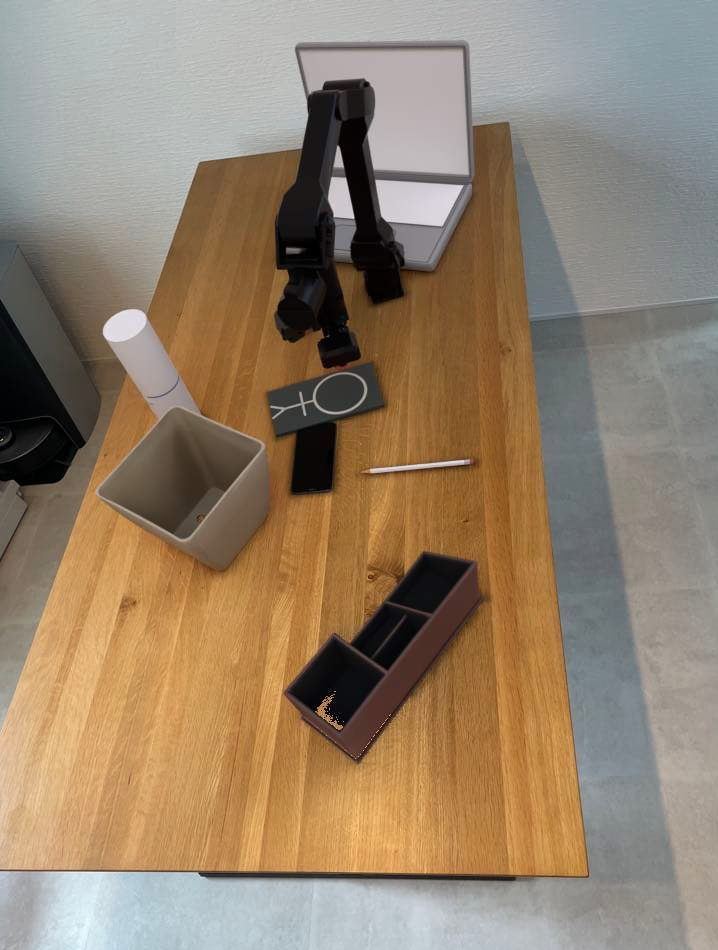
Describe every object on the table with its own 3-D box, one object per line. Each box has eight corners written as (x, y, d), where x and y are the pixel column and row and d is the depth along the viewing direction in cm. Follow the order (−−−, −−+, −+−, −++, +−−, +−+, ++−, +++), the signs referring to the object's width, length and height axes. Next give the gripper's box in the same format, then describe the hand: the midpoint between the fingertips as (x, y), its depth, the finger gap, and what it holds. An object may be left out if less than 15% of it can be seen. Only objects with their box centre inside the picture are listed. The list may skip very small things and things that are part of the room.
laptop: (277, 257, 148) (232, 120, 124) (328, 179, 160) (296, 40, 135) (432, 275, 135) (416, 126, 111) (476, 189, 147) (470, 38, 123)
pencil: (474, 464, 110) (473, 462, 109) (360, 475, 113) (359, 473, 112) (473, 460, 110) (473, 458, 110) (360, 471, 113) (359, 469, 113)
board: (371, 364, 126) (370, 361, 125) (384, 407, 120) (383, 403, 119) (268, 394, 127) (266, 391, 126) (276, 438, 121) (274, 434, 120)
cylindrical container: (199, 445, 123) (136, 341, 102) (164, 444, 125) (95, 341, 104) (211, 415, 127) (152, 308, 106) (176, 414, 129) (112, 309, 108)
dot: (348, 354, 118) (346, 343, 116) (352, 367, 116) (349, 356, 114) (331, 359, 118) (328, 348, 116) (334, 372, 116) (331, 361, 114)
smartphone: (297, 428, 122) (290, 496, 114) (296, 425, 121) (289, 494, 113) (338, 424, 121) (333, 493, 113) (337, 420, 120) (332, 490, 112)
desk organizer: (300, 719, 93) (277, 693, 84) (426, 563, 102) (418, 523, 93) (358, 766, 89) (340, 744, 79) (485, 598, 98) (483, 560, 88)
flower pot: (297, 506, 112) (267, 442, 98) (228, 598, 106) (185, 543, 91) (212, 467, 120) (173, 402, 106) (143, 550, 114) (91, 493, 99)
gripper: (262, 261, 109) (288, 336, 122) (277, 338, 99) (304, 410, 112) (329, 241, 108) (348, 318, 121) (351, 317, 98) (370, 392, 111)
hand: (341, 358), depth 116 cm, fingers closed on dot, 3 cm apart
